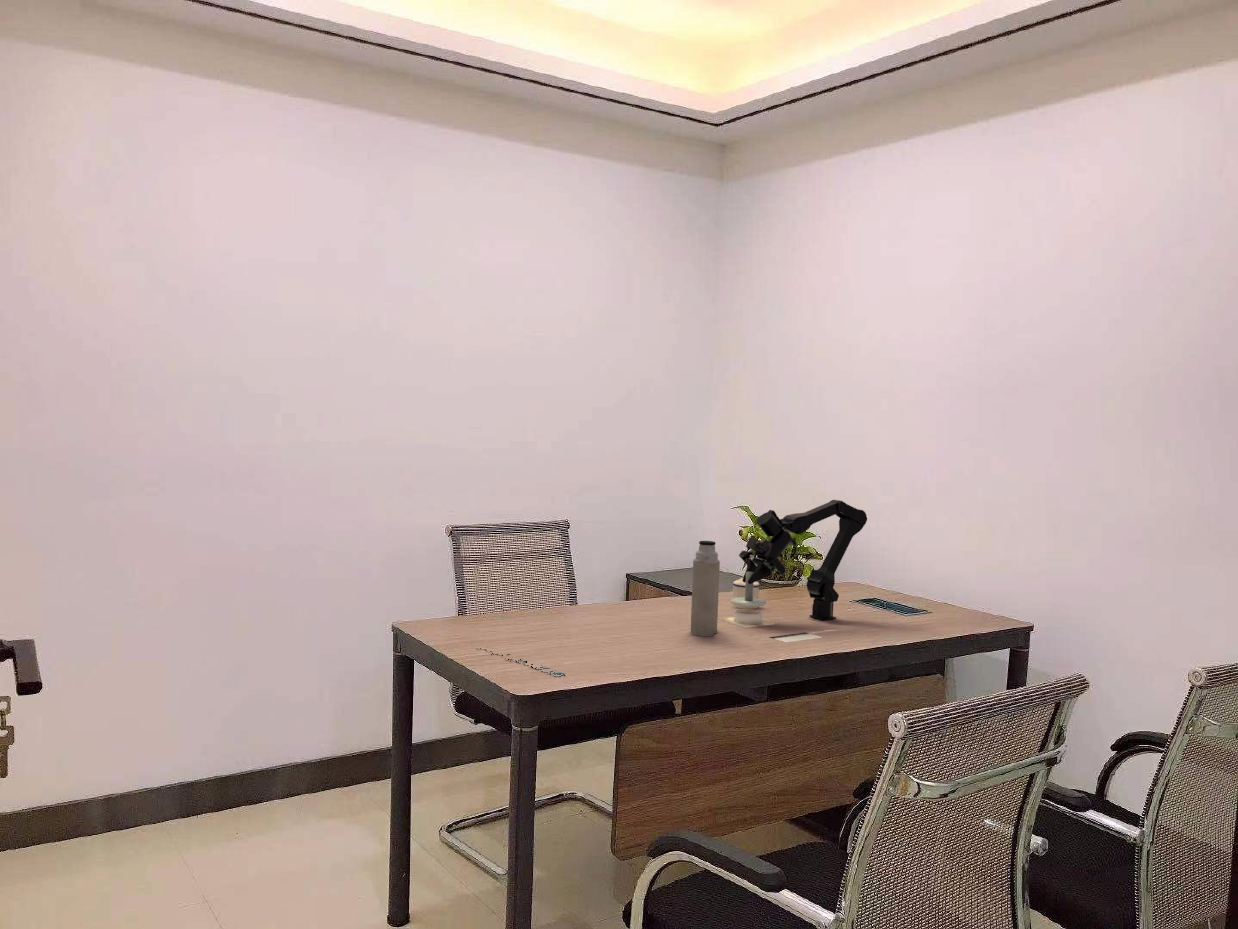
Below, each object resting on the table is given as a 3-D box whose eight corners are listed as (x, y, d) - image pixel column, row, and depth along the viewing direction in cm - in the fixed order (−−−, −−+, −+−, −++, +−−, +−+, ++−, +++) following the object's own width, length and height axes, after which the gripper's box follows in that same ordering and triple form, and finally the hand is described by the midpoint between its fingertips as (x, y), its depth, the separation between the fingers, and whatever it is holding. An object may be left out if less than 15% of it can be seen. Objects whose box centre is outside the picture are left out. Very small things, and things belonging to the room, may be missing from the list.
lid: (763, 600, 330) (764, 570, 329) (768, 607, 319) (770, 575, 318) (729, 599, 330) (730, 569, 329) (733, 606, 319) (735, 574, 318)
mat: (788, 628, 320) (788, 627, 320) (822, 638, 308) (822, 637, 308) (751, 633, 312) (751, 632, 312) (785, 643, 299) (785, 642, 299)
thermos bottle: (694, 629, 315) (697, 538, 313) (719, 632, 312) (723, 540, 311) (687, 634, 307) (691, 541, 306) (713, 637, 305) (717, 543, 303)
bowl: (749, 617, 331) (749, 608, 331) (768, 622, 323) (768, 613, 323) (727, 619, 326) (728, 610, 326) (746, 625, 318) (746, 615, 318)
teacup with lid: (763, 611, 348) (765, 577, 347) (740, 612, 344) (742, 578, 343) (744, 604, 358) (746, 571, 358) (722, 605, 354) (723, 572, 354)
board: (749, 618, 334) (750, 615, 334) (779, 626, 323) (779, 623, 323) (716, 622, 327) (716, 619, 327) (745, 630, 315) (745, 627, 315)
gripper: (745, 525, 333) (715, 560, 328) (779, 532, 317) (748, 570, 312) (763, 548, 337) (734, 583, 333) (799, 557, 321) (768, 594, 316)
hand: (745, 582), depth 323 cm, fingers closed on lid, 2 cm apart
